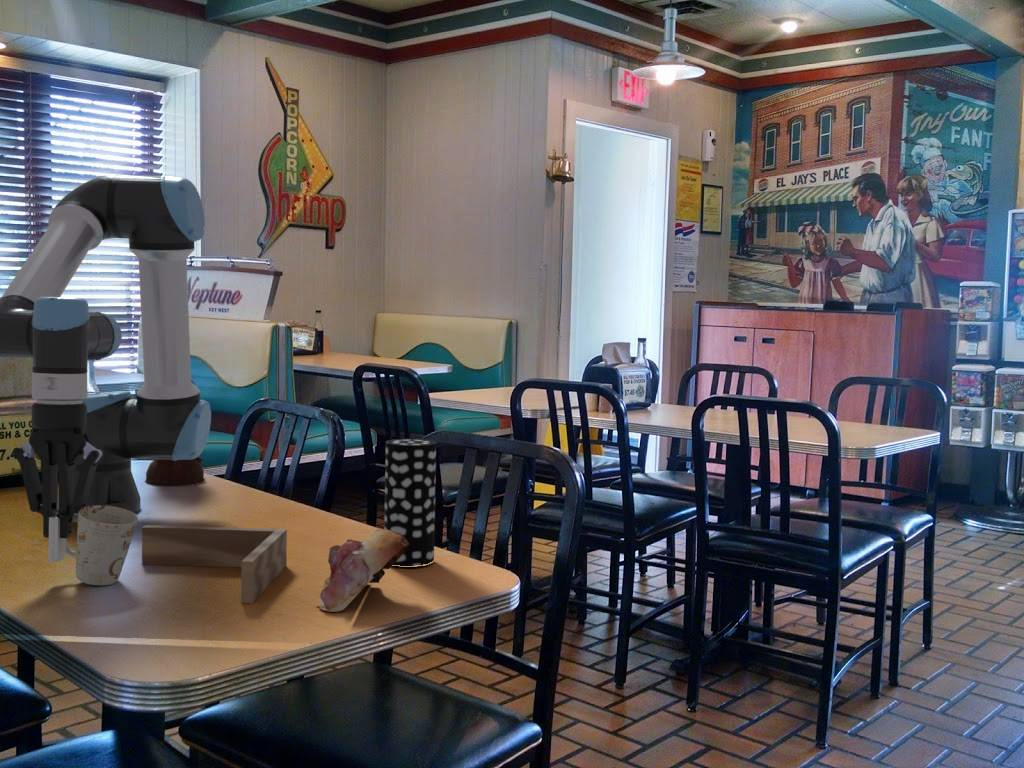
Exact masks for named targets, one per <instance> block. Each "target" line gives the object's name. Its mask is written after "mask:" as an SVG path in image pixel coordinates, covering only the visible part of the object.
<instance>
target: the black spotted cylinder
mask: <svg viewBox="0 0 1024 768" xmlns="http://www.w3.org/2000/svg"><path fill="white" fill-rule="evenodd" d="M384 457H385V462H384V463H385V465H384V466H385V471H384V472H385V473H384V520H383V522H384V523H383V524H384V525H383V526H384V527H383V528H384V529H386V530H392V531H395V532H397V533H399V534H401V535H402V536H403V537H404V538H405V539H406V540H407V541H408V543H409V544H410V545H409V547H408V548H407V550H406V551H405V552H404V554H403V555H402V556H401V557H400V558H399V559H398V560H397V561H396V562H395V563H394V564H393V565H400V566H415V565H423V564H428V563H430V562H432V561H433V560H434V561H435V531H436V530H435V528H436V527H435V526H436V524H435V523H436V521H435V520H436V519H435V517H436V485H437V484H436V482H437V481H436V480H437V479H436V477H437V475H436V474H437V473H436V472H437V471H436V470H437V469H436V468H437V442H436V440H435V441H434V440H431V439H423V438H395V439H390V440H389V439H388V440H386V441H385V456H384Z"/></svg>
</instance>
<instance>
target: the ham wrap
mask: <svg viewBox="0 0 1024 768" xmlns="http://www.w3.org/2000/svg"><path fill="white" fill-rule="evenodd" d="M409 545H410V544H409V543H408V541H407V540H406V539H405V538H404V537H403V536H402V535H401V534H399V533H397V532H395V531H392V530H386V529H383V528H380V529H379V528H377V529H374V530H373V531H372V534H371V537H369V539H367V540H363V541H359V540H355V539H347V540H346V541H345V542H344V543H341V544H340V545H337V544H336V545H332V546H331V547H330V548H329V553H328V564H329V568H330V573H329V574H330V575H329V577H327V578H326V579H325V580H324V582H323V589H322V590H321V592H320V595H319V596H320V597H319V598H320V599H319V601H320V602H321V604H319V605H317V607H318V609H320V610H323V611H326V612H332V613H333V612H341V611H343V610H344V609H345V608H347V607H348V606H349V605H350V603H352V601H353V600H354V599H355V598H357V597H356V596H358V594H360V593H361V592H362V591H363V590H364V589H365V588H366V586H367V585H368V584H380V581H381V579H382V578H383V577H384V575H386V572H385V570H390V569H391V568H392V567H393V566H392V565H393V564H394V563H395V562H396V561H397V560H398V559H399V558H400V557H401V556H402V555H403V554H404V552H405V551H406V550H407V548H408V547H409Z"/></svg>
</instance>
